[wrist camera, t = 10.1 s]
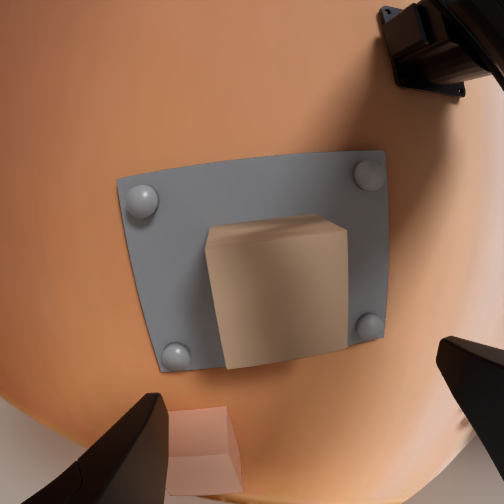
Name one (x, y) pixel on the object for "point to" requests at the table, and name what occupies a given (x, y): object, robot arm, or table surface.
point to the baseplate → (243, 210)
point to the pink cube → (203, 453)
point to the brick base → (279, 288)
